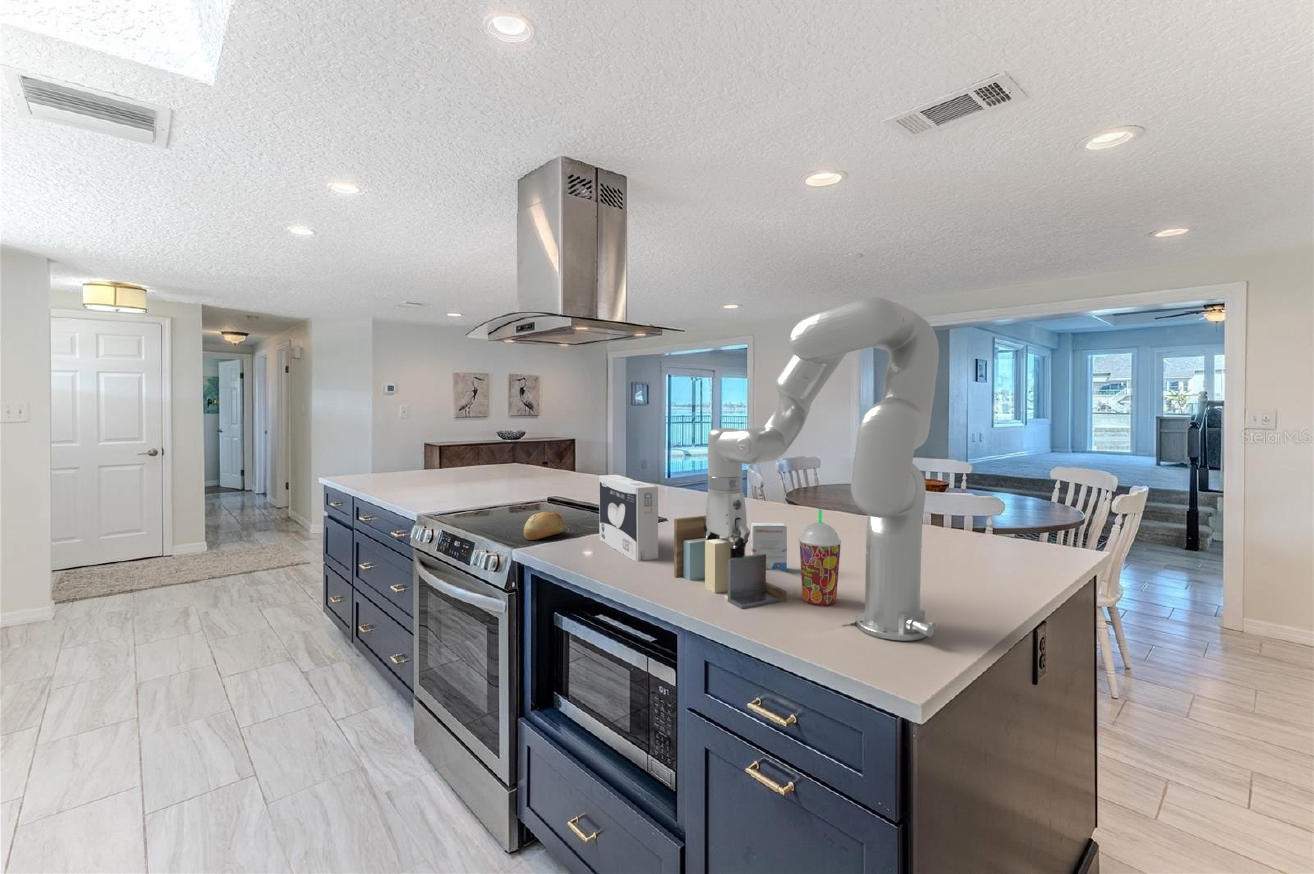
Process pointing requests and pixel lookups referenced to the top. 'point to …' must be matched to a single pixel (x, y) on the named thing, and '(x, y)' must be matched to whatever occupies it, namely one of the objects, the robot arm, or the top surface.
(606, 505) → the packaging
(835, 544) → the smoothie
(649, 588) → the top surface
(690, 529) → the shelf
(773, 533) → the ink box
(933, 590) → the top surface
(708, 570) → the tan book
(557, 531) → the bread roll
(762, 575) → the bookend
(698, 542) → the teal book
